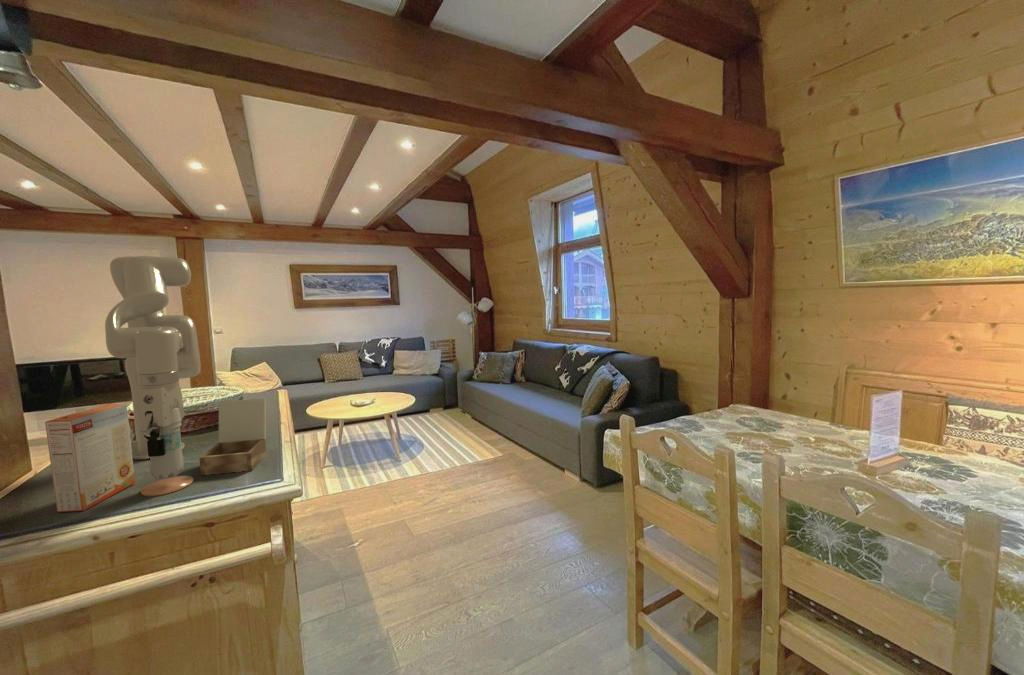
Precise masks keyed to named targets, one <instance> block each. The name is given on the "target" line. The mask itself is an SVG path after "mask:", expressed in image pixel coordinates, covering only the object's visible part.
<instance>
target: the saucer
mask: <svg viewBox="0 0 1024 675" xmlns="http://www.w3.org/2000/svg"><path fill="white" fill-rule="evenodd" d="M192 482H193V483H194V477H192V476H189V475H177V476H170V477H168V478H167V479H165V478H161V479H157V480H156V481H153V482H149V483H148V484H146V485H145V486H143V487H142V488H141V489H140V495H141V496H143V495H144V497H159V496H164V494H165V495H168V493H169V494H172V493H171V492H173V493H175V491H176V492H178V491H177V490H179V491H181V490H180V489H182V488H184V487H186V486H188V485H190V484H191V483H192ZM193 483H192V484H193ZM192 484H191V485H192ZM191 485H190V486H191ZM188 487H189V486H188ZM186 488H187V487H186ZM184 489H185V488H184ZM182 490H183V489H182ZM158 495H159V496H158Z"/></svg>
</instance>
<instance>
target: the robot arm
mask: <svg viewBox="0 0 1024 675" xmlns="http://www.w3.org/2000/svg"><path fill="white" fill-rule="evenodd" d="M109 270H110V275H111V278H112V281H113V284H114V285H115V287H116V289H117V291H118V292H119V294H120V295H121V297H122V299H123V300H121V301H119V302H118V303H117V304H115V305H114V306H113V307H112V309H111V310H110V311H109V312H108V314H107V316H106V318H105V323H104V329H105V330H104V331H105V344H106V349H107V352H108V353H109V354H110V356H112V357H114V358H119V359H125V361H124V368H125V371H126V375H127V378H128V382H129V386H130V392H131V399H132V409H133V420H134V421H133V422H134V430H135V431H134V432H135V433H134V434H135V440H131V449H132V458H133V460H149V458H150V457H154V456H163V455H165V443H164V439H162V434H163V428H165V427H168V426H170V425H171V424H172V410H173V409H175V408H179V412H180V416H181V420H183V418H184V417H185V407H184V399H183V393H182V389H181V386H180V380H181V379H189V378H193V377H197V375H199V374H200V372H201V368H202V367H201V366H202V364H201V355H200V348H199V340H198V333H197V327H196V324H195V321H194V319H193V318H191V317H190V316H188V315H183V314H182V315H180V314H178V315H177V314H175V315H171V314H169V315H166V314H165V311H164V309H165V308H166V307H167V306H168V304H169V303H170V302H169V300H170V299H169V294H168V293H169V292H168V287H185V288H186V287H187V286H189V285H190V283H191V282H192V271H191V268H190V265H189V263H188V261H186V260H185V259H184V258H180V257H168V256H167V257H166V256H155V255H154V256H153V255H152V256H151V255H140V256H139V255H137V256H135V255H134V256H118V257H116V258H113V259H112V260H111V261H110V263H109ZM126 323H127V327H122V326H124V325H125V324H126ZM152 424H157V425H158V427H151V425H152ZM157 429H158V431H157V433H156V432H155V431H152V430H157ZM185 446H186V445H185V443H184V442H183V441H181V449H182V450H183V449H184V448H185Z"/></svg>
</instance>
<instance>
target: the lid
mask: <svg viewBox="0 0 1024 675" xmlns="http://www.w3.org/2000/svg"><path fill="white" fill-rule="evenodd" d="M266 436H267V435H266V398H254V399H251V398H249V399H236V400H219V401H218V443H223V442H235V441H246V440H258V439H265V440H266V439H267V438H266Z"/></svg>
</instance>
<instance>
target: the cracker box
mask: <svg viewBox="0 0 1024 675" xmlns="http://www.w3.org/2000/svg"><path fill="white" fill-rule="evenodd" d="M128 413H129V412H128V406H127V404H126V403H124V404H122V403H119V404H113V403H111V404H110V403H109V404H103V405H99V406H95V407H92V408H89V409H85V410H81V411H78V412H74V413H70V414H67V415H64V416H59V417H56V418H53V419H50V420H49V419H48V420H46V421H45V422H44V424H45V432H46V440H47V444H48V445H47V448H48V454H49V461H50V462H49V463H50V469H51V476H52V484H53V489H54V490H53V491H54V499H55V505H56V512H57V513H67V512H83V511H86V510H88V509H89V508H92V507H95V505H97V504H99V503H101V502H103V501H104V500H107V499H108V498H110V497H112V496H113V495H116V494H117V493H120V492H121V491H124V490H125V489H127V488H128V487H131V486H132V485H134V484H136V479H135V470H134V469H135V468H134V459H133V458H132V452H133V449H131V441H132V440H131V433H130V432H131V431H130V423H129V415H128Z"/></svg>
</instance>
